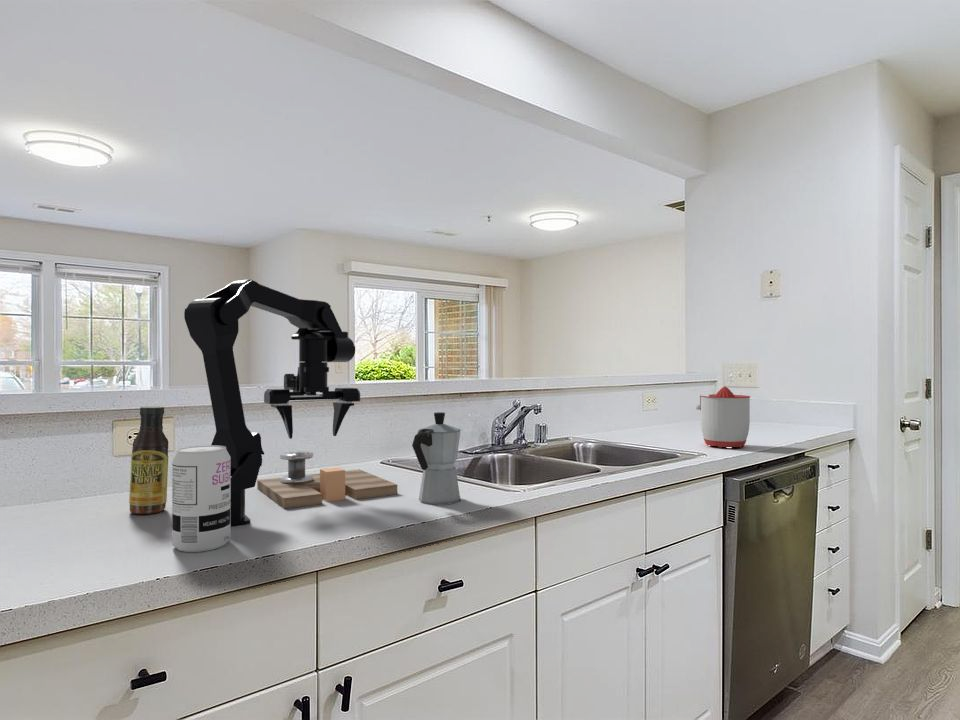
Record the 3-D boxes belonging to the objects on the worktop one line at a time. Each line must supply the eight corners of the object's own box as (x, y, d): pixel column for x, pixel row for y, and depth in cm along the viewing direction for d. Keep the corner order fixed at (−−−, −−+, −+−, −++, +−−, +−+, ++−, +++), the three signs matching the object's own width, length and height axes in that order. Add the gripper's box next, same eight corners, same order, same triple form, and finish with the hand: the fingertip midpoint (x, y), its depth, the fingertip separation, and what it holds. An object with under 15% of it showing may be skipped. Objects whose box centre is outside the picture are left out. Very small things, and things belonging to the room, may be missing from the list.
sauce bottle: (124, 516, 112) (125, 408, 112) (134, 508, 118) (134, 405, 118) (164, 514, 113) (164, 407, 113) (171, 506, 119) (171, 405, 119)
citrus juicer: (710, 441, 215) (710, 384, 215) (759, 447, 202) (759, 386, 202) (685, 445, 205) (685, 386, 205) (735, 451, 192) (735, 387, 192)
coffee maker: (439, 491, 133) (439, 409, 133) (473, 496, 129) (474, 411, 129) (396, 505, 120) (396, 414, 120) (432, 511, 116) (433, 416, 116)
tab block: (338, 495, 130) (338, 467, 130) (345, 499, 126) (345, 470, 126) (319, 497, 127) (320, 469, 127) (326, 501, 124) (326, 472, 124)
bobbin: (317, 481, 134) (317, 454, 134) (285, 485, 130) (285, 457, 130) (307, 476, 140) (307, 450, 140) (276, 480, 136) (276, 453, 136)
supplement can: (175, 540, 97) (175, 446, 97) (231, 535, 100) (231, 443, 100) (168, 556, 90) (168, 453, 90) (229, 550, 92) (229, 450, 92)
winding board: (397, 493, 131) (397, 484, 131) (283, 508, 118) (283, 498, 118) (359, 477, 149) (359, 469, 149) (257, 488, 136) (257, 479, 136)
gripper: (343, 362, 139) (343, 431, 139) (258, 362, 129) (258, 435, 129) (361, 362, 130) (361, 436, 130) (270, 362, 120) (270, 441, 120)
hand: (312, 437), depth 127 cm, fingers open, 9 cm apart
